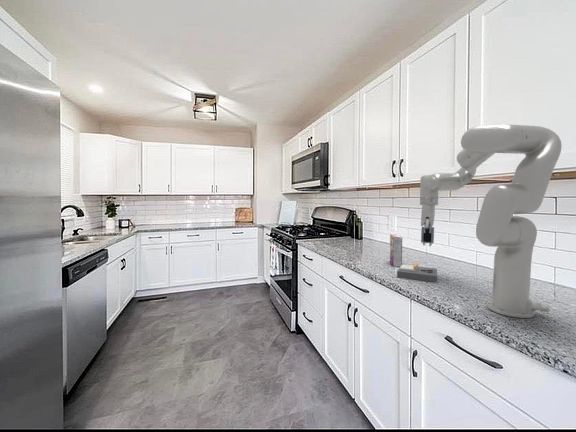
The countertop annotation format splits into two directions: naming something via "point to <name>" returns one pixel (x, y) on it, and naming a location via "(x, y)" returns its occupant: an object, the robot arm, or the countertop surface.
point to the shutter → (409, 267)
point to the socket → (419, 274)
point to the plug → (431, 236)
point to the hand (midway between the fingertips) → (427, 240)
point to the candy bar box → (396, 250)
